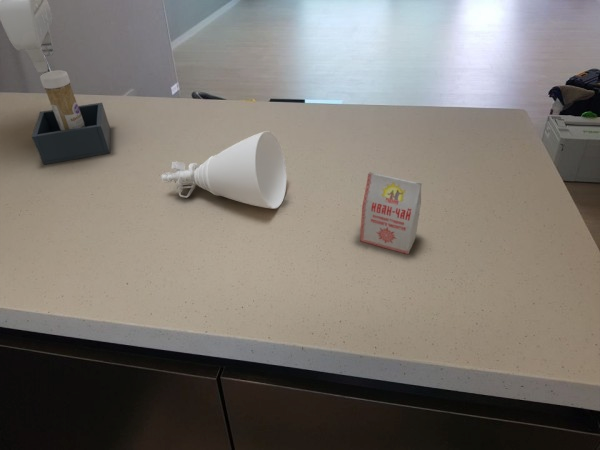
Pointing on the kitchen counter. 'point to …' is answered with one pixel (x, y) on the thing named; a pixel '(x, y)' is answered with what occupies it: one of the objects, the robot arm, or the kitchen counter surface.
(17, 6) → the robot arm
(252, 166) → the rocket engine
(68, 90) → the sprinkles bottle
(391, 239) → the tea bag
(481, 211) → the kitchen counter surface
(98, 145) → the box
